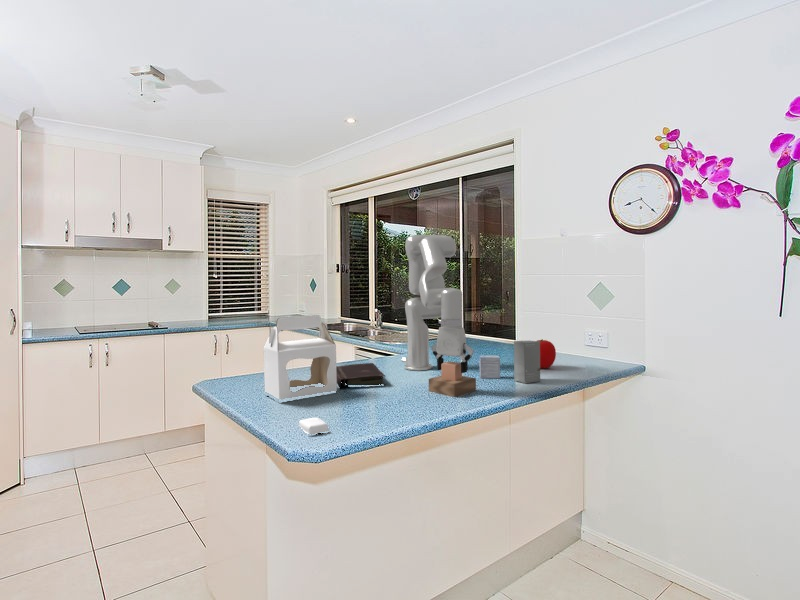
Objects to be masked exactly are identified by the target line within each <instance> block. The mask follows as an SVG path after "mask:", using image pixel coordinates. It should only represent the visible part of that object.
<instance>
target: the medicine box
mask: <svg viewBox="0 0 800 600" xmlns="http://www.w3.org/2000/svg"><path fill="white" fill-rule="evenodd" d="M500 368H501V357H500V356H499V355H479V379H500V378H501V369H500Z"/></svg>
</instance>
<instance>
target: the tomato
mask: <svg viewBox="0 0 800 600" xmlns="http://www.w3.org/2000/svg"><path fill="white" fill-rule="evenodd" d="M536 341H539V342H540V369H548V368H550V367H552V366H553V364H554V363H555V360H556V357H557V351H556V347H555V345H554V344H553V343H552V342H551V341H550V340H547V339H544V340H543V339H542V338H541V339H538V340H536Z"/></svg>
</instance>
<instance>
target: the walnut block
mask: <svg viewBox="0 0 800 600" xmlns="http://www.w3.org/2000/svg"><path fill="white" fill-rule="evenodd" d="M473 391H474V392H477V378H476V377H471V376H466V375H465V376H464V375H462V378H461V379H458V380H456V381H453V380H445V379H441V375H439V376H435V377H431V378H428V392H430V393H433V392H434V393H435V394H439V395H443V396H447V397H451V398H457V397H460V396H461V397H462V396H464V395H468V394H471V393H474V392H473ZM470 392H471V393H470ZM467 393H468V394H467Z"/></svg>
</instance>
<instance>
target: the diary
mask: <svg viewBox="0 0 800 600" xmlns="http://www.w3.org/2000/svg"><path fill="white" fill-rule="evenodd" d="M336 372H337V387H338V388H339V387H341V388H342V386H343V385H344V386H345V383H346V384H347V386H348V385H379V384H380V385H381V384H383V383H384V378H383V377H386V375H385V374H384V373H383V372H382V371H381V370H380V369H379V368H378V366H377V365H376V364H375V363H373V362H368V363H364V362H363V363H351V364H345V365H336ZM341 382H342V383H343V384H341ZM384 384H385V383H384ZM344 386H343V387H344ZM347 386H345V387H347ZM385 386H386V384H385Z"/></svg>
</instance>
